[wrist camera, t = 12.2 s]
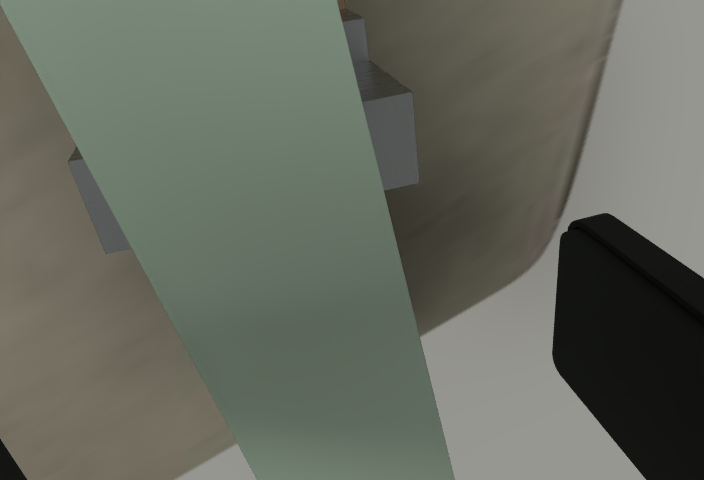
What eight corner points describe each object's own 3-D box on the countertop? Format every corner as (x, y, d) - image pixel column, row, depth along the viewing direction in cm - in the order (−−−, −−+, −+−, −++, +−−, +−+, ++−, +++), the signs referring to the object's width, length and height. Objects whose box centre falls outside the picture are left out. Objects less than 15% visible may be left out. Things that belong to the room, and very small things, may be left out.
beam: (-51, -290, 11) (-263, -482, 6) (195, -352, 12) (193, -581, 6) (287, 436, 22) (313, 585, 17) (405, 392, 23) (465, 524, 18)
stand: (15, -199, 19) (-123, -298, 11) (305, -232, 20) (377, -342, 12) (193, 318, 30) (191, 462, 22) (374, 273, 31) (436, 392, 23)
